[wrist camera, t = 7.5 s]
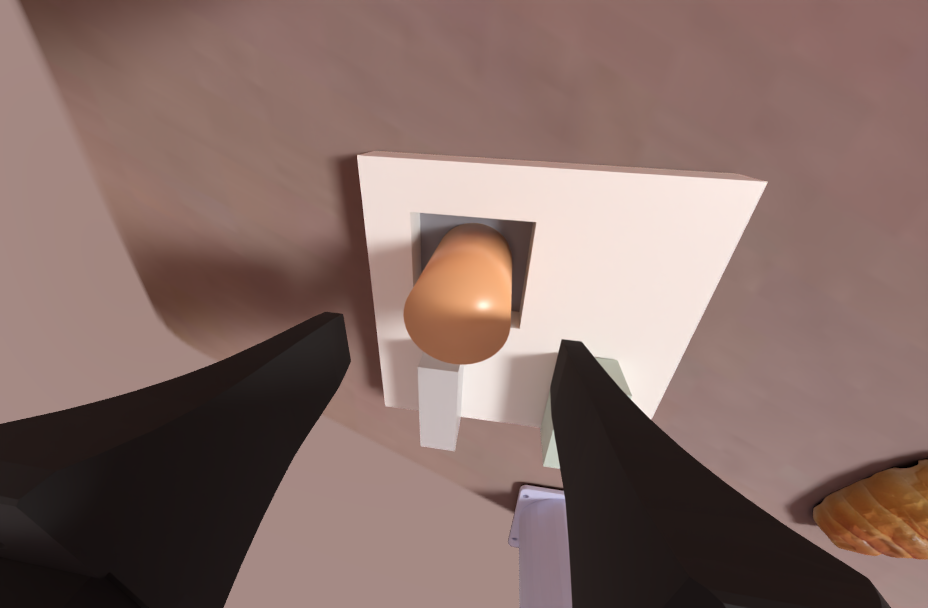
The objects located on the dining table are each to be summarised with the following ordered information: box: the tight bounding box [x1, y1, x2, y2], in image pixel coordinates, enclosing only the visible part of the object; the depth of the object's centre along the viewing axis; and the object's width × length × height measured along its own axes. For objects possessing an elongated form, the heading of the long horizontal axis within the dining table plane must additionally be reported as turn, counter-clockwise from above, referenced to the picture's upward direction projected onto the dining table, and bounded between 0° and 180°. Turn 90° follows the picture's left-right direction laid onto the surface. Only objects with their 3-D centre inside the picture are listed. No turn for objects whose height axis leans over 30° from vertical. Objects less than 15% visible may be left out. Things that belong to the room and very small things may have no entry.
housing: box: [357, 151, 767, 451], centre depth 17 cm, size 15×16×4 cm
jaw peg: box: [403, 223, 512, 365], centre depth 15 cm, size 4×4×6 cm
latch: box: [540, 358, 632, 469], centre depth 18 cm, size 6×3×2 cm, turn 178°
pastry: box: [813, 459, 928, 559], centre depth 21 cm, size 9×7×4 cm
